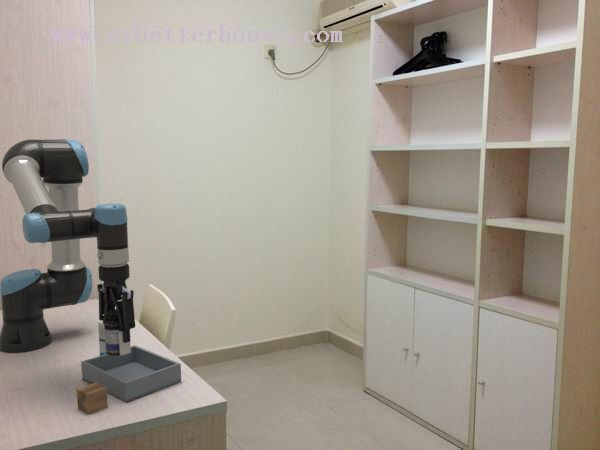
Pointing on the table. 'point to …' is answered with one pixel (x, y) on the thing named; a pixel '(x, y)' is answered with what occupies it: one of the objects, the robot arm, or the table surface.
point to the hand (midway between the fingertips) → (118, 350)
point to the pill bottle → (112, 333)
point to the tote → (132, 373)
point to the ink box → (102, 338)
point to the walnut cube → (92, 398)
